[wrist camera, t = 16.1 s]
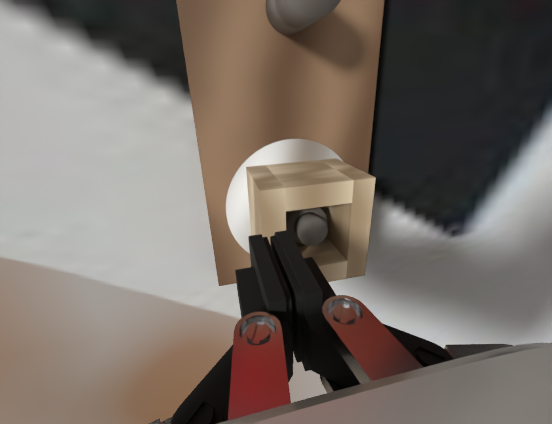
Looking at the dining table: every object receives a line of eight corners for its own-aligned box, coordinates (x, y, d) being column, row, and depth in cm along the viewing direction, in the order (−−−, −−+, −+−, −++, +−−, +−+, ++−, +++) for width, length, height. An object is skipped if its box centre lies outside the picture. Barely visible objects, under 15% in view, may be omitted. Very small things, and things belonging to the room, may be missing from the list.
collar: (336, 158, 20) (375, 177, 15) (332, 238, 22) (365, 275, 18) (245, 166, 18) (259, 190, 14) (252, 250, 21) (266, 293, 17)
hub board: (380, -111, 16) (470, -214, 11) (351, 251, 26) (390, 294, 20) (157, -136, 14) (127, -284, 8) (218, 274, 23) (222, 329, 18)
